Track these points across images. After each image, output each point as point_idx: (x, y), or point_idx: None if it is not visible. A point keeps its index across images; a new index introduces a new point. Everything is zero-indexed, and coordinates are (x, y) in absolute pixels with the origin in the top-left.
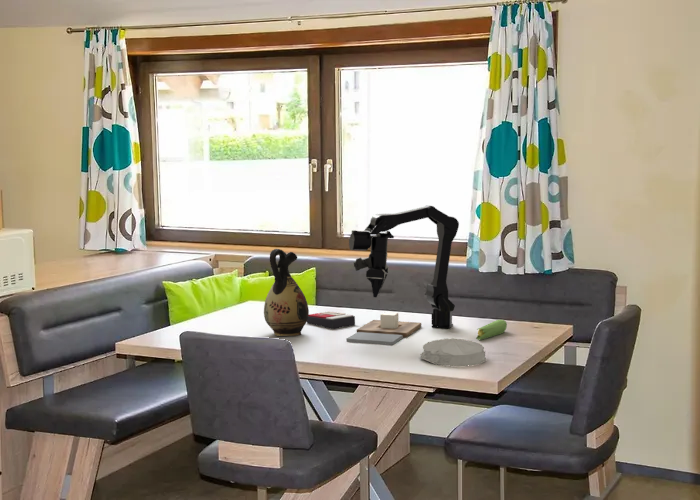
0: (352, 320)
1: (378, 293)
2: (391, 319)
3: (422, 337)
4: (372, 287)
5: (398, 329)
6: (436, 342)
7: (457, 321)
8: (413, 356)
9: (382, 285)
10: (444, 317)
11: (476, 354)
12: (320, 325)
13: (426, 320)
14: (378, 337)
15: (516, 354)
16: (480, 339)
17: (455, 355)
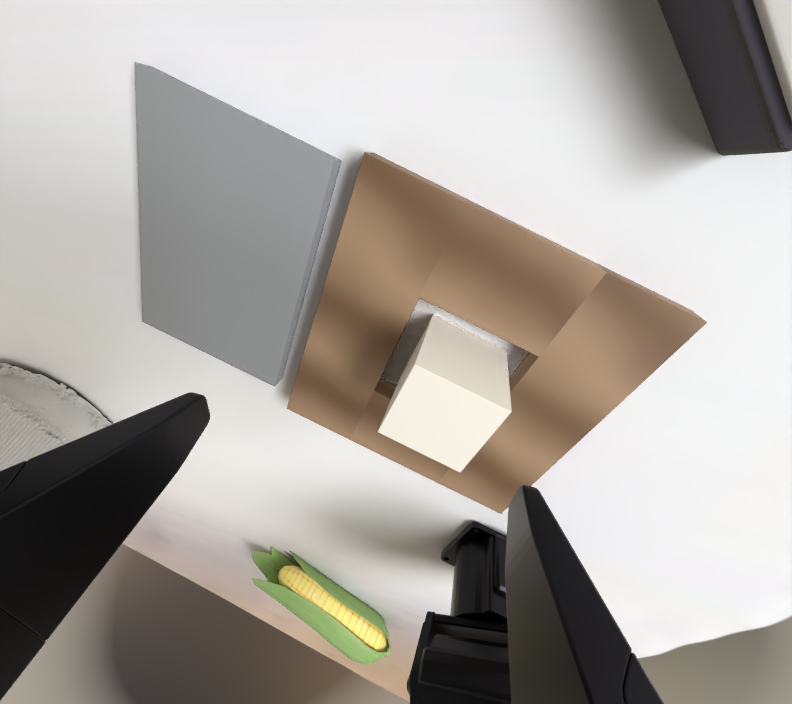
0: (740, 124)
1: (510, 501)
2: (390, 403)
3: (299, 444)
4: (11, 471)
5: (358, 395)
6: None
7: None
8: (33, 349)
9: (509, 656)
10: (452, 591)
11: None
12: None
13: (650, 555)
14: (208, 274)
15: (154, 547)
16: (276, 554)
17: None
